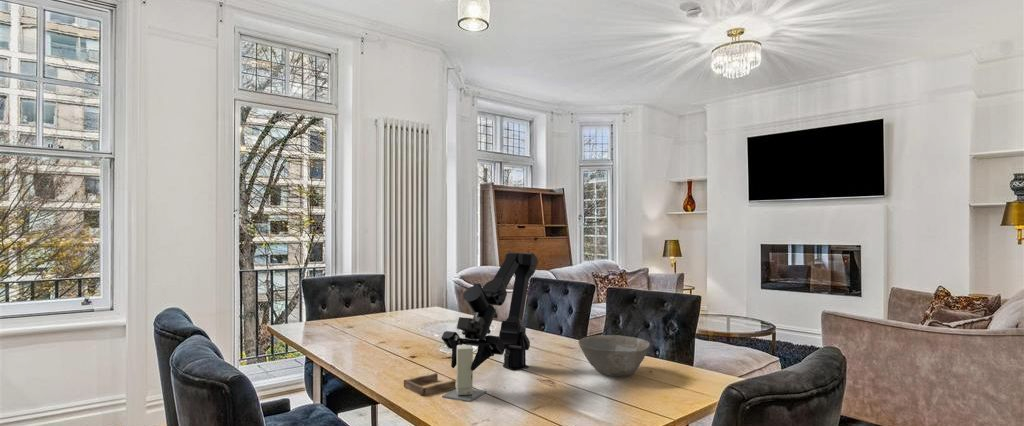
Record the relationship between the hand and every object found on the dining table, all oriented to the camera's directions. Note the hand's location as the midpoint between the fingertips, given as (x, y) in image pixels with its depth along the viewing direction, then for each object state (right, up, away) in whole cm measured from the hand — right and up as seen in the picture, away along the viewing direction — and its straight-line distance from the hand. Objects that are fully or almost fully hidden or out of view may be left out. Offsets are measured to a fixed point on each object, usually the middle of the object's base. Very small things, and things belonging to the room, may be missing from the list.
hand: (461, 368), depth 146 cm
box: (+1, -7, +1) cm, 7 cm away
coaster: (+1, -8, +1) cm, 8 cm away
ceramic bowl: (+47, -8, +20) cm, 52 cm away
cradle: (-10, -8, +8) cm, 15 cm away
